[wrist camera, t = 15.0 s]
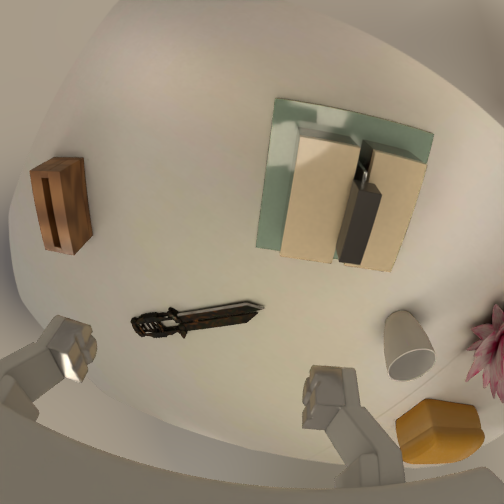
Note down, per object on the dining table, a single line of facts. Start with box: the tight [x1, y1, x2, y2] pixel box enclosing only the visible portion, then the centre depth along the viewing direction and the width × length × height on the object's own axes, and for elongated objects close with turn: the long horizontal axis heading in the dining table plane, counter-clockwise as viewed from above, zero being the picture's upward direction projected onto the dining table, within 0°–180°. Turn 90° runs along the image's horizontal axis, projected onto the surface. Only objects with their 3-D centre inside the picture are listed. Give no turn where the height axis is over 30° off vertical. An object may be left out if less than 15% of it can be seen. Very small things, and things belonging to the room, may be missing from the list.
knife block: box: [30, 157, 93, 255], centre depth 40 cm, size 13×6×6 cm, turn 174°
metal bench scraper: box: [336, 160, 382, 265], centre depth 34 cm, size 10×2×10 cm, turn 174°
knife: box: [131, 303, 264, 338], centre depth 53 cm, size 25×6×1 cm, turn 103°
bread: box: [396, 399, 485, 464], centre depth 61 cm, size 24×13×15 cm, turn 68°
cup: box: [384, 311, 437, 382], centre depth 45 cm, size 8×8×10 cm
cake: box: [256, 98, 434, 272], centre depth 36 cm, size 20×20×7 cm
